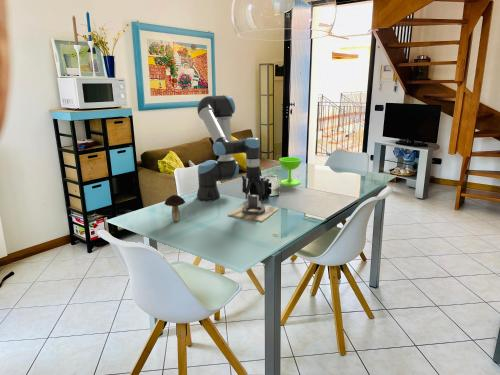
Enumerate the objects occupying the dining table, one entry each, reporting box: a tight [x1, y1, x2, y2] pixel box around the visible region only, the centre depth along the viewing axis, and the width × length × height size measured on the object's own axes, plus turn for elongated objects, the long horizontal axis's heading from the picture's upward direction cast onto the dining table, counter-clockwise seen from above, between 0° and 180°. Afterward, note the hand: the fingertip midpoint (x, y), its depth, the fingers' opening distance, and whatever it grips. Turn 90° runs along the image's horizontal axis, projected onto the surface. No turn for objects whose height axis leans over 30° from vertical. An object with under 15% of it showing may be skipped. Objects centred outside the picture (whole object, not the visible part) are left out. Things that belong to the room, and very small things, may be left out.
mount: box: [227, 202, 280, 223], centre depth 207 cm, size 22×22×2 cm
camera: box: [249, 168, 273, 201], centre depth 229 cm, size 10×14×20 cm
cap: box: [248, 195, 258, 208], centre depth 204 cm, size 6×6×6 cm
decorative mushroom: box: [164, 194, 186, 222], centre depth 194 cm, size 11×11×15 cm
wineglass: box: [278, 156, 302, 187], centre depth 263 cm, size 16×16×18 cm
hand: (253, 205), depth 205 cm, fingers closed on cap, 6 cm apart
